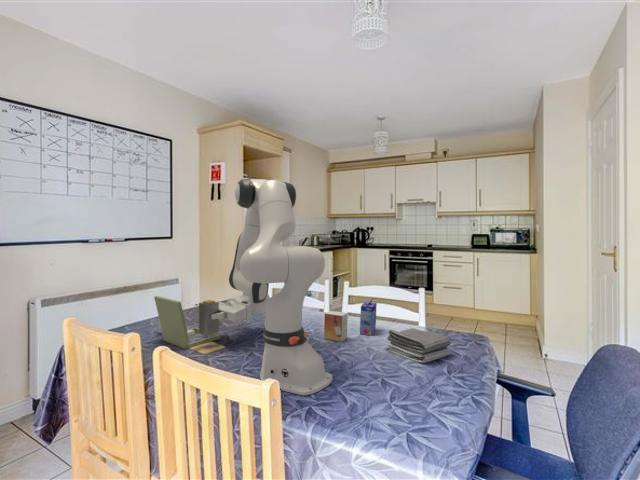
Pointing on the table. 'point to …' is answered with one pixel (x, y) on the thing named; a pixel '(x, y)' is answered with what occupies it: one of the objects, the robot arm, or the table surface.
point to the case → (177, 324)
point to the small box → (335, 326)
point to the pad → (207, 347)
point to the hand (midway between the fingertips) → (205, 315)
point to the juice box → (368, 318)
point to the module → (208, 317)
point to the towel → (418, 345)
